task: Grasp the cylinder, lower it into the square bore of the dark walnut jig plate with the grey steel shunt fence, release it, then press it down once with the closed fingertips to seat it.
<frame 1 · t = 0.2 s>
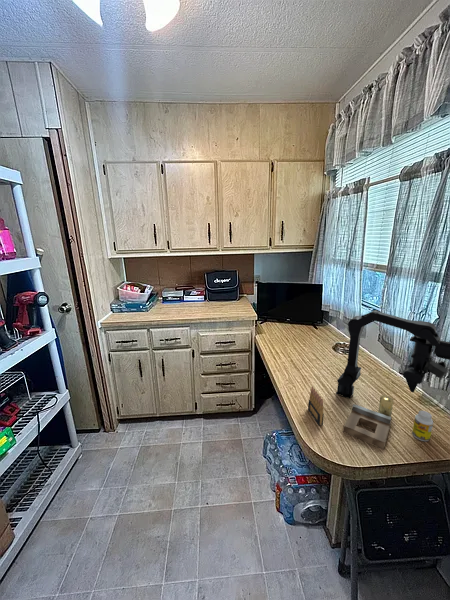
hand: (415, 387, 107), 14 cm above the table, fingers open, 9 cm apart
jig: (366, 431, 102), on the table
supplement bottle: (420, 437, 99), on the table
cylinder: (384, 414, 112), on the table
ammunition clip: (315, 417, 111), on the table
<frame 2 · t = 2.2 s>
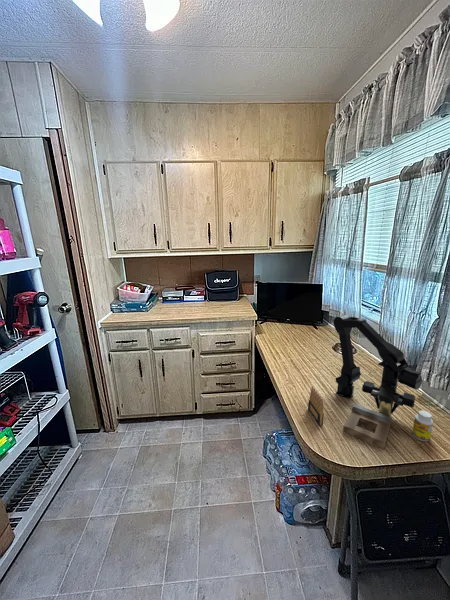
hand: (385, 410, 111), 2 cm above the table, fingers closed on cylinder, 5 cm apart
cylinder: (384, 414, 112), on the table, touching gripper
everything else where it was.
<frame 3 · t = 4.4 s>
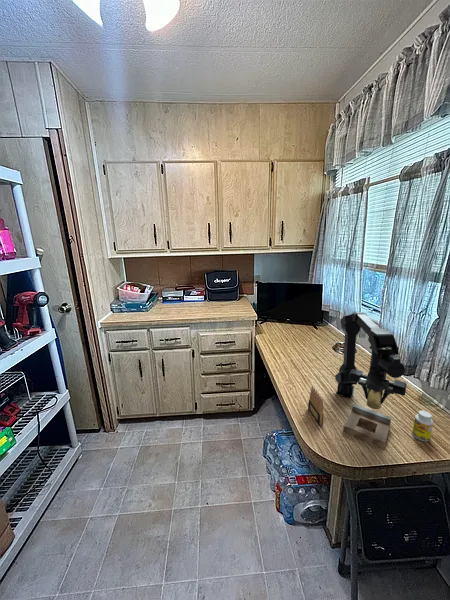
hand: (374, 400, 101), 13 cm above the table, fingers closed on cylinder, 5 cm apart
cylinder: (373, 405, 101), point 11 cm above the table, touching gripper
everything else where it was.
when the fingers open (4 cm above the table, at t = 6.6 s): cylinder drops 2 cm, resting in jig.
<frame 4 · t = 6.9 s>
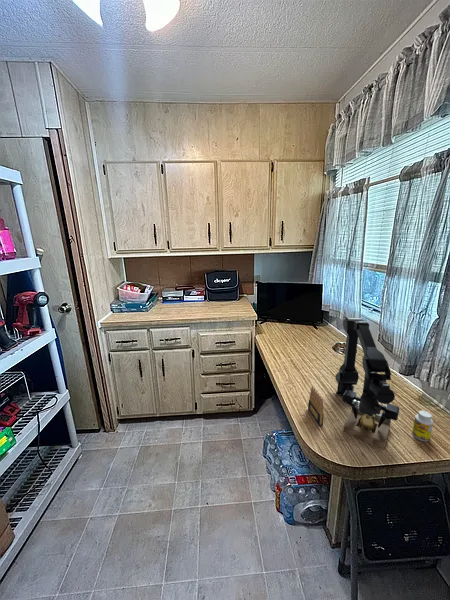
hand: (367, 422, 102), 4 cm above the table, fingers open, 8 cm apart
cylinder: (365, 431, 102), resting in jig
everything else where it was.
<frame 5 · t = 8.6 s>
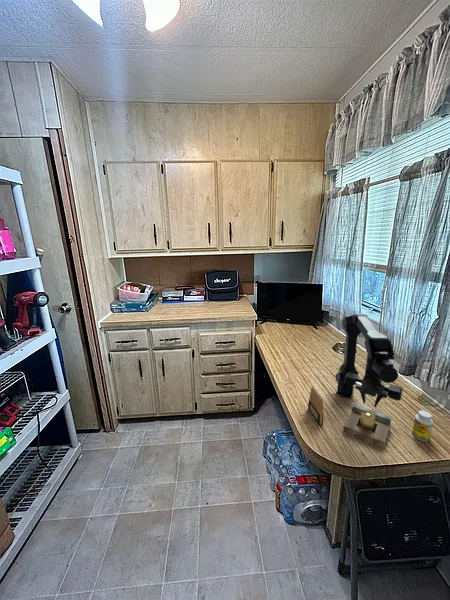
hand: (369, 405, 100), 12 cm above the table, fingers open, 3 cm apart
nothing on the table moved.
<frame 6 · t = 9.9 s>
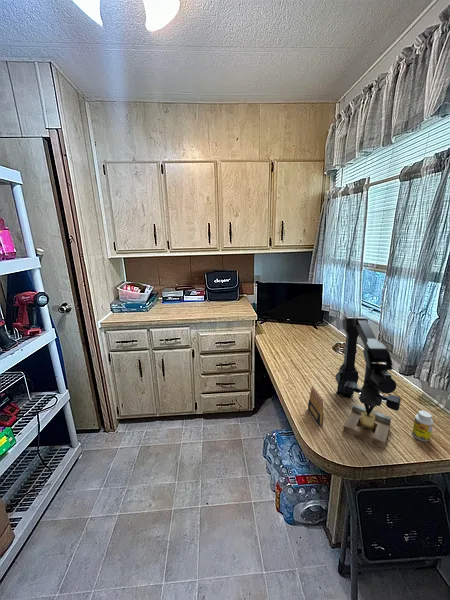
hand: (368, 414, 101), 8 cm above the table, fingers closed, pressing on cylinder
cylinder: (365, 431, 102), resting in jig, touching gripper
everything else where it was.
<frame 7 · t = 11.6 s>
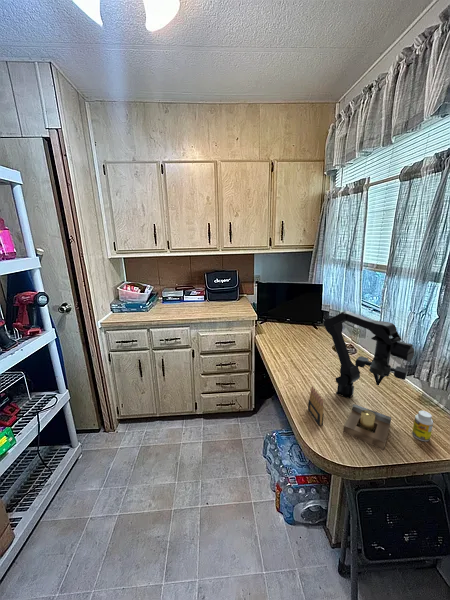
hand: (377, 384, 113), 12 cm above the table, fingers closed
cylinder: (365, 431, 102), resting in jig
everything else where it was.
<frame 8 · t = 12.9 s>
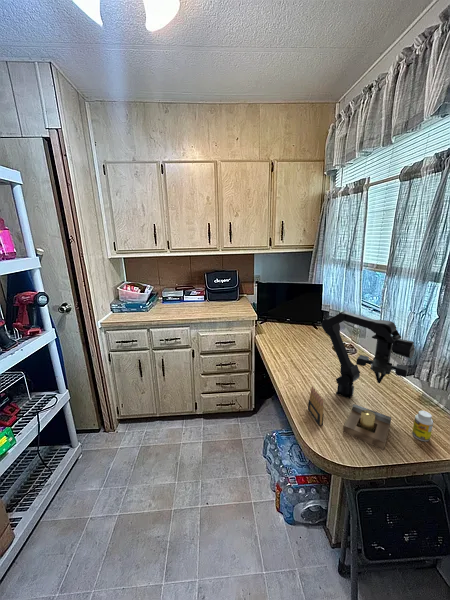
hand: (378, 382, 114), 13 cm above the table, fingers closed
nothing on the table moved.
at the end: cylinder 0.0 cm from the jig (horizontally); cylinder resting in jig; cylinder tilted 0° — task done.
